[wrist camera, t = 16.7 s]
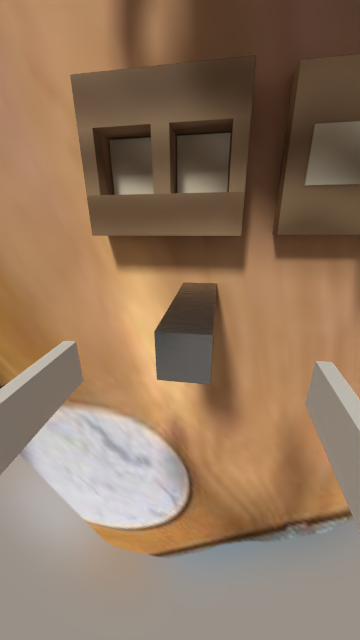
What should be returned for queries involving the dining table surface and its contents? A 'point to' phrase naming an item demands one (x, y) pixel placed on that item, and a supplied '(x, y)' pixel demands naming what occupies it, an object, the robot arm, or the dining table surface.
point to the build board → (166, 147)
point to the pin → (187, 335)
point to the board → (321, 150)
